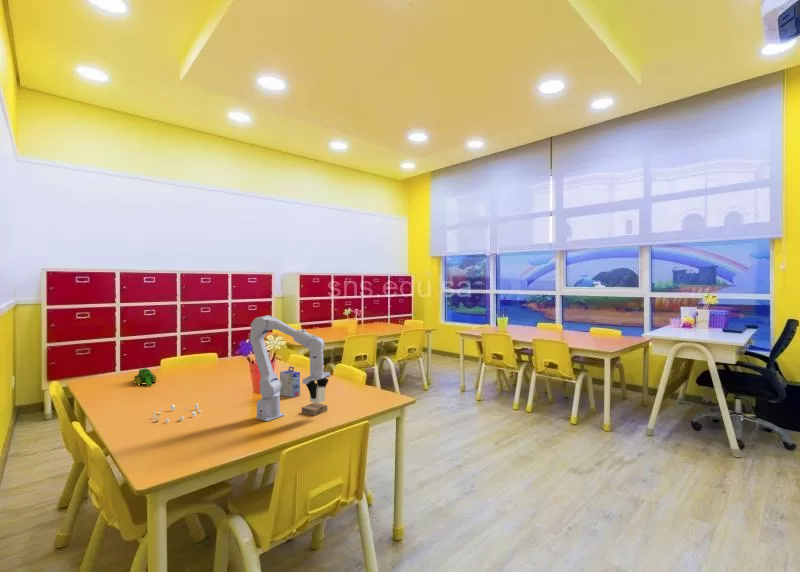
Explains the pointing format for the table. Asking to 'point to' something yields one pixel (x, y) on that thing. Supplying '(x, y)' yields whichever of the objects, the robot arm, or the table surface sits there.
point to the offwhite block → (319, 395)
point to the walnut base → (314, 409)
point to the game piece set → (174, 409)
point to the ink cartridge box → (290, 383)
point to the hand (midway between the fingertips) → (317, 397)
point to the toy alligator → (145, 377)
